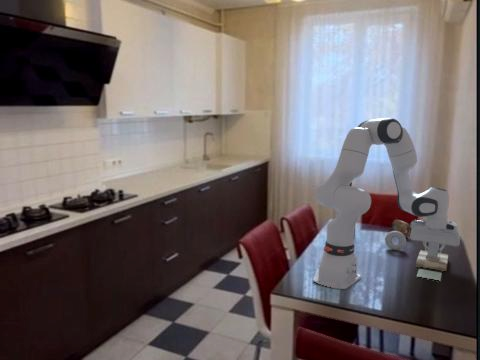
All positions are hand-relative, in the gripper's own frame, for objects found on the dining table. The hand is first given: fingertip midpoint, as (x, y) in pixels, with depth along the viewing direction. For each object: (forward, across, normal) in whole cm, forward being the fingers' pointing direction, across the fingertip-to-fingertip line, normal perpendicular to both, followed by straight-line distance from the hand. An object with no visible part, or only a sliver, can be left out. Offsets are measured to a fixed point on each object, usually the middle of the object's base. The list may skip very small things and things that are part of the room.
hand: (433, 251), depth 179 cm
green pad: (+6, 0, -16) cm, 17 cm away
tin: (+6, -19, +39) cm, 44 cm away
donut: (+6, -18, +11) cm, 22 cm away
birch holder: (+6, 0, 0) cm, 6 cm away
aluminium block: (+4, 0, 0) cm, 4 cm away
